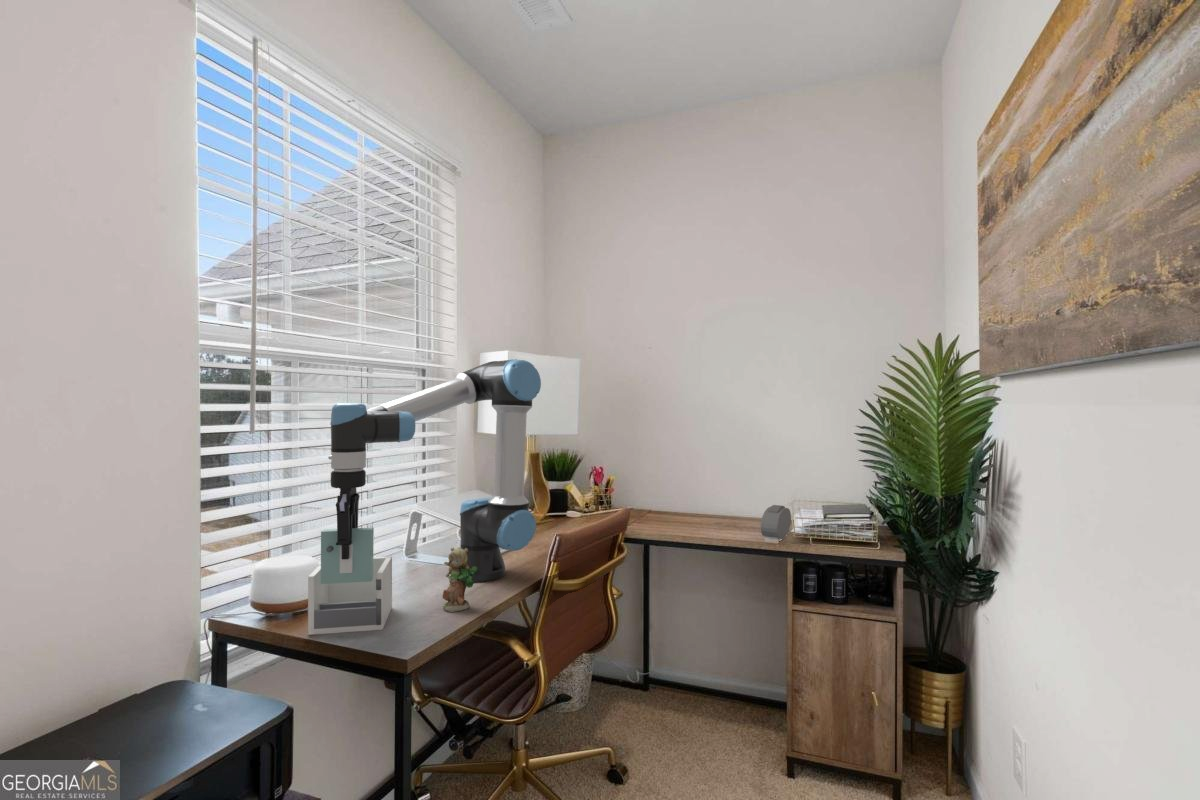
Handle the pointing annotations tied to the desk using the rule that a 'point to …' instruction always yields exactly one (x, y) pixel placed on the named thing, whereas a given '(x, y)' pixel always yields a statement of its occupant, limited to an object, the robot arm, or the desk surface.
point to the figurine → (458, 580)
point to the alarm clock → (775, 523)
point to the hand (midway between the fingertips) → (347, 570)
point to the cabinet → (350, 601)
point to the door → (361, 556)
